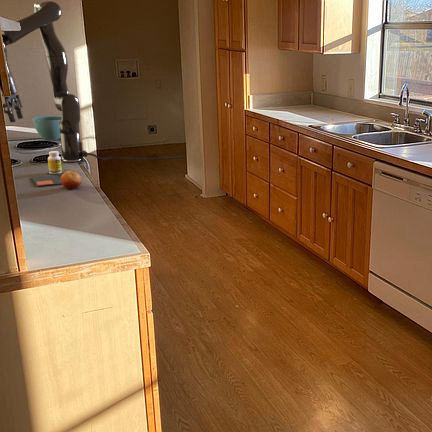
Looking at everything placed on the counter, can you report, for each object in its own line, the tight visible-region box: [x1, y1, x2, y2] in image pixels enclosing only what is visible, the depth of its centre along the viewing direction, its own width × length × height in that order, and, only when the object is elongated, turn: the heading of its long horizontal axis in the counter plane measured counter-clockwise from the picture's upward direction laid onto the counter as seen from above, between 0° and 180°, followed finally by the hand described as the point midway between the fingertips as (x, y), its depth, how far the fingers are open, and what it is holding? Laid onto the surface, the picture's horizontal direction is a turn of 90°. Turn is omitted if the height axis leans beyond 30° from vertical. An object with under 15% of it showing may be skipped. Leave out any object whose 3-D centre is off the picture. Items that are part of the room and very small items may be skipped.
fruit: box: [61, 170, 82, 190], centre depth 236 cm, size 8×8×8 cm
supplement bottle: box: [47, 150, 63, 175], centre depth 259 cm, size 5×5×10 cm
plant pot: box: [32, 115, 62, 141], centre depth 336 cm, size 18×18×12 cm
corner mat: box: [31, 174, 62, 188], centre depth 247 cm, size 16×16×1 cm
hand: (17, 120), depth 253 cm, fingers open, 8 cm apart
